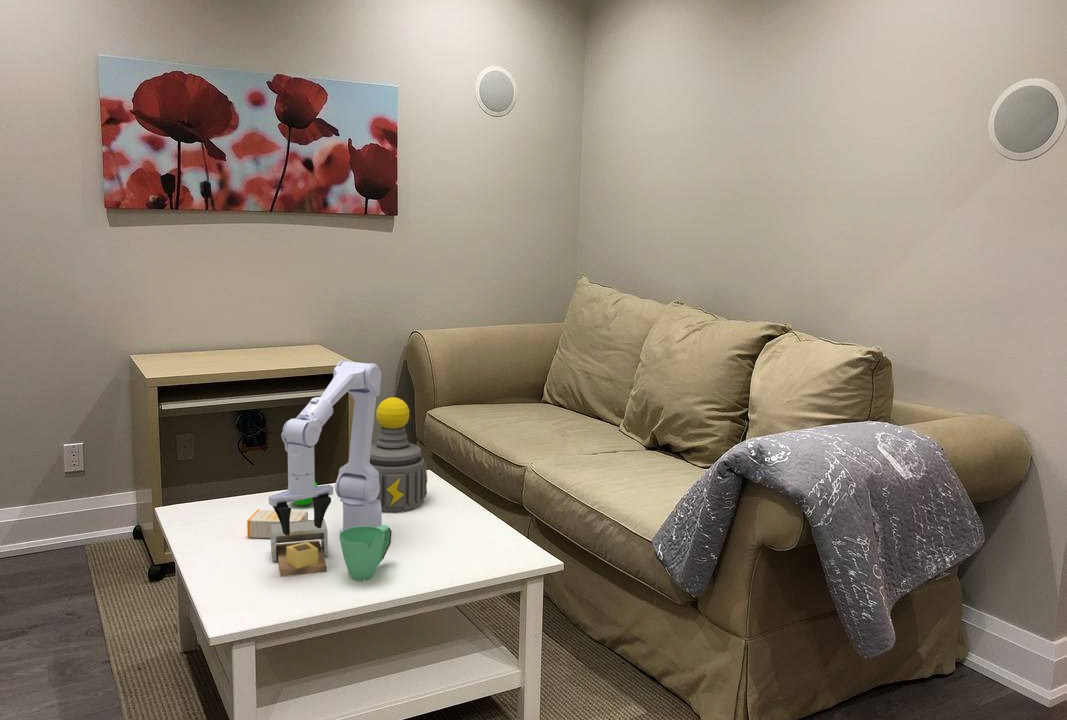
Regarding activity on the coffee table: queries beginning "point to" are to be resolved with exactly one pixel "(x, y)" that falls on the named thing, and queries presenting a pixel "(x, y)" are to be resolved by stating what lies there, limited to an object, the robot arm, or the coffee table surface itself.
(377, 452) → the decorative lamp
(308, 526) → the cover
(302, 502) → the ornament
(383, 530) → the mug
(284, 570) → the pin board
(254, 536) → the supplement box
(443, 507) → the coffee table surface
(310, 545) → the hollow square block
